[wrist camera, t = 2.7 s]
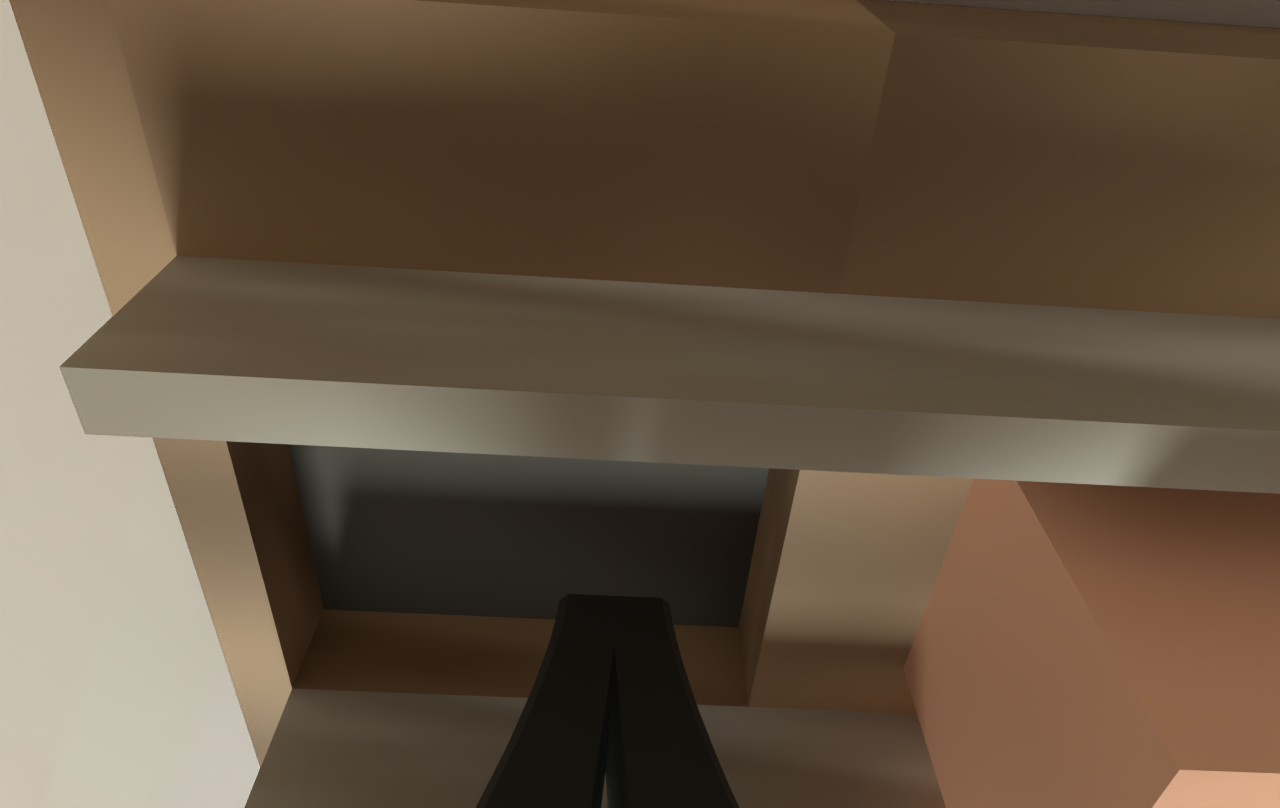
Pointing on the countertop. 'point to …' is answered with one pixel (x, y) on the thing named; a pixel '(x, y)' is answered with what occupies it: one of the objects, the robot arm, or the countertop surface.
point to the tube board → (646, 337)
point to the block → (1104, 649)
